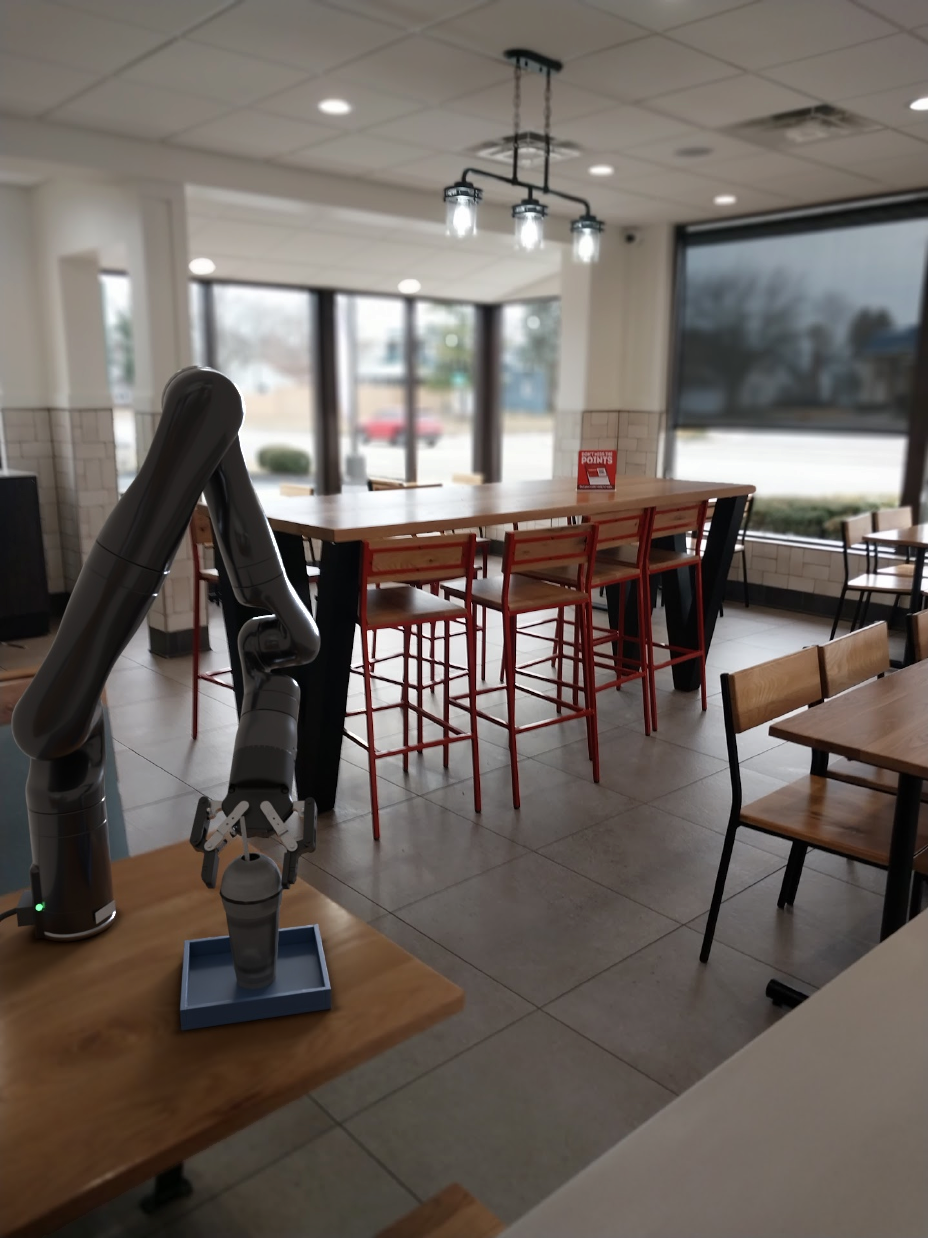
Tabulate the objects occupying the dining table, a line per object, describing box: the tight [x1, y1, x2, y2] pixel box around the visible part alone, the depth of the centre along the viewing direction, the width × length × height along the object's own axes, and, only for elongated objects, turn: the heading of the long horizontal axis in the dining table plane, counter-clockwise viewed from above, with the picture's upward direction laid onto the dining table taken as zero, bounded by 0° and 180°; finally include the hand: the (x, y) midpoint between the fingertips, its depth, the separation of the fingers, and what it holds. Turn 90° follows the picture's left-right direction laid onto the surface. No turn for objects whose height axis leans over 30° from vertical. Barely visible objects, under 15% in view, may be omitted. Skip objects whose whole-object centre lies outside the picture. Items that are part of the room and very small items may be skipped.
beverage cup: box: [219, 816, 285, 990], centre depth 109 cm, size 7×7×20 cm
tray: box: [179, 923, 332, 1031], centre depth 111 cm, size 16×14×2 cm
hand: (247, 887), depth 107 cm, fingers open, 8 cm apart
